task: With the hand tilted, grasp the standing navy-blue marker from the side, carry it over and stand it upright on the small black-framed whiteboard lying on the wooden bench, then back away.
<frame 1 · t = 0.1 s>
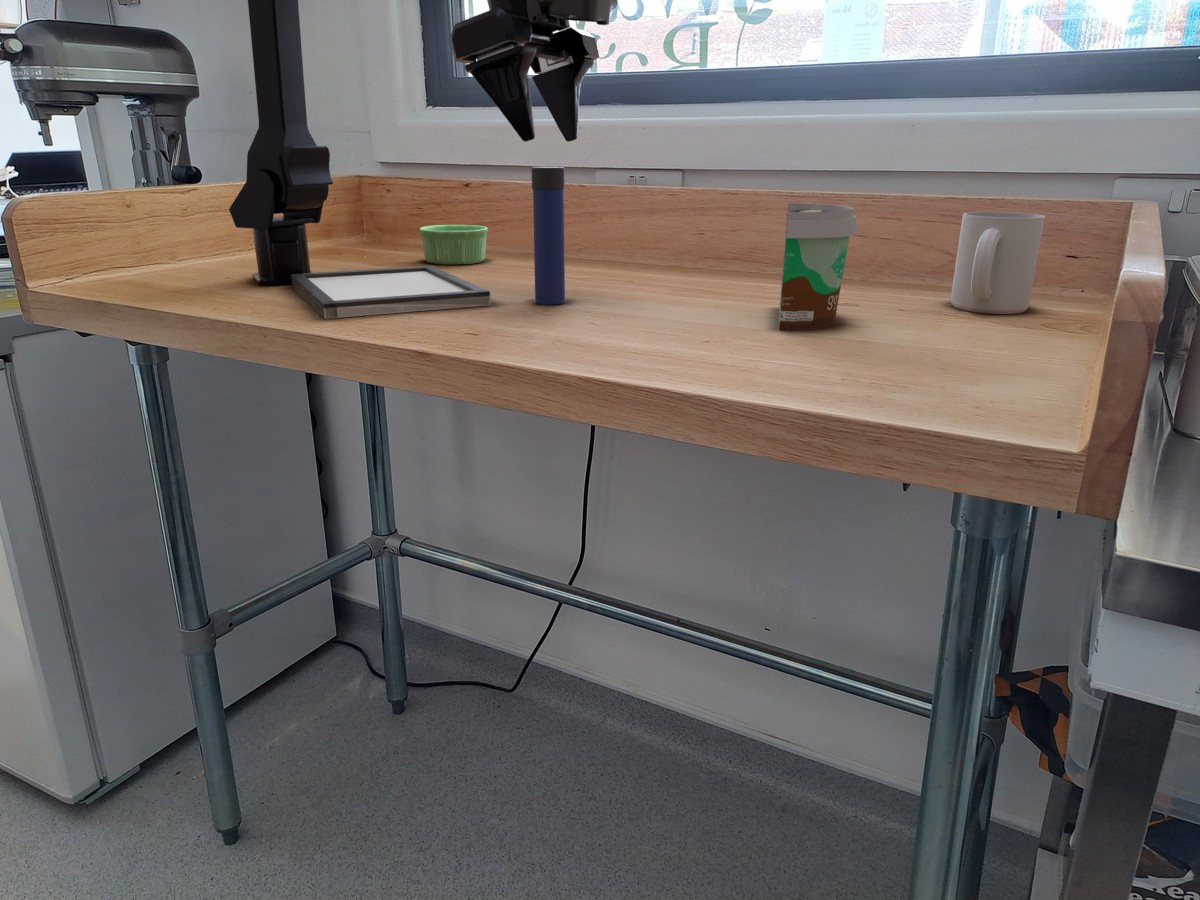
hand: (551, 140, 81), 15 cm above the table, tool pointing down, fingers open, 9 cm apart
marker: (550, 302, 87), on the table
whiteboard: (385, 295, 90), on the table
cup: (984, 311, 84), on the table
ramekin: (455, 262, 115), on the table
food container: (813, 322, 78), on the table
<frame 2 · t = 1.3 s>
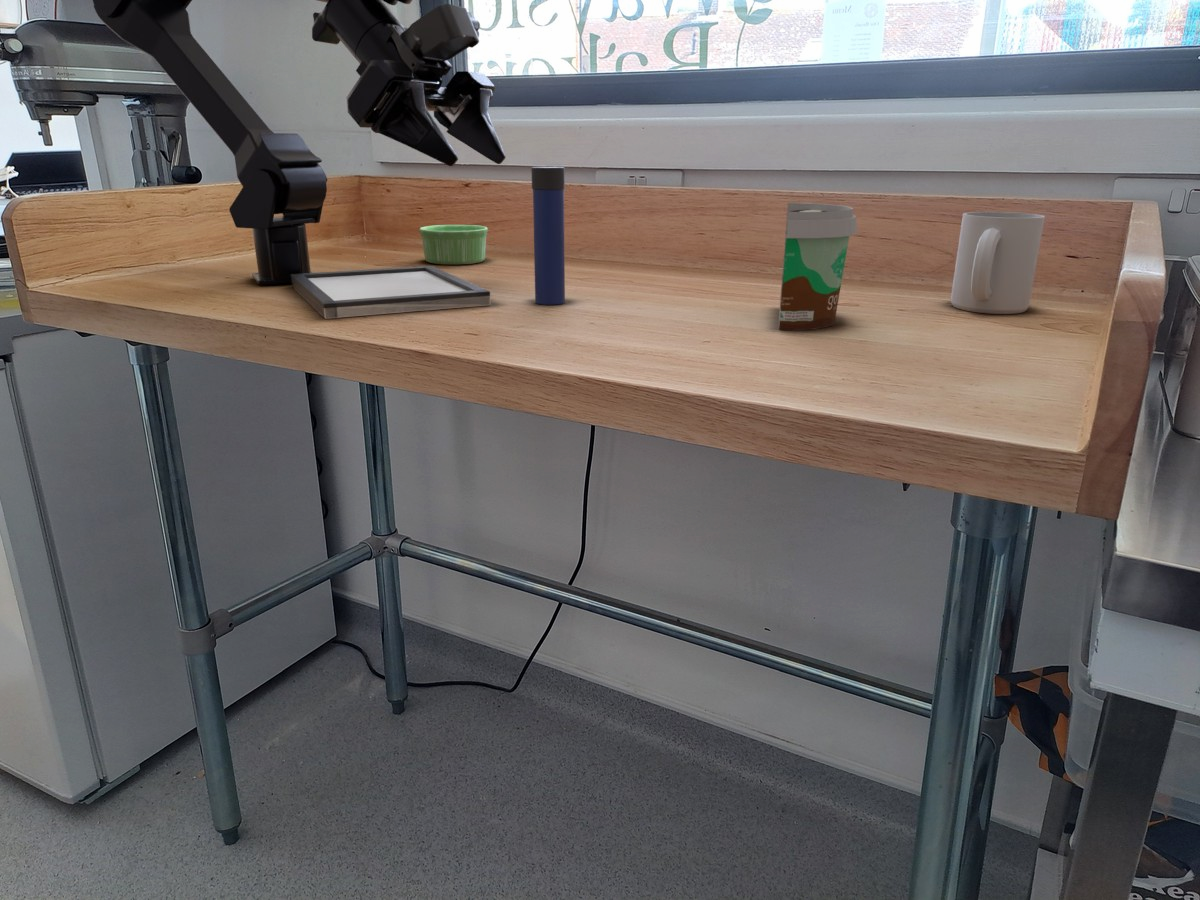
hand: (479, 161, 85), 13 cm above the table, tool tilted 45°, fingers open, 9 cm apart
nothing on the table moved.
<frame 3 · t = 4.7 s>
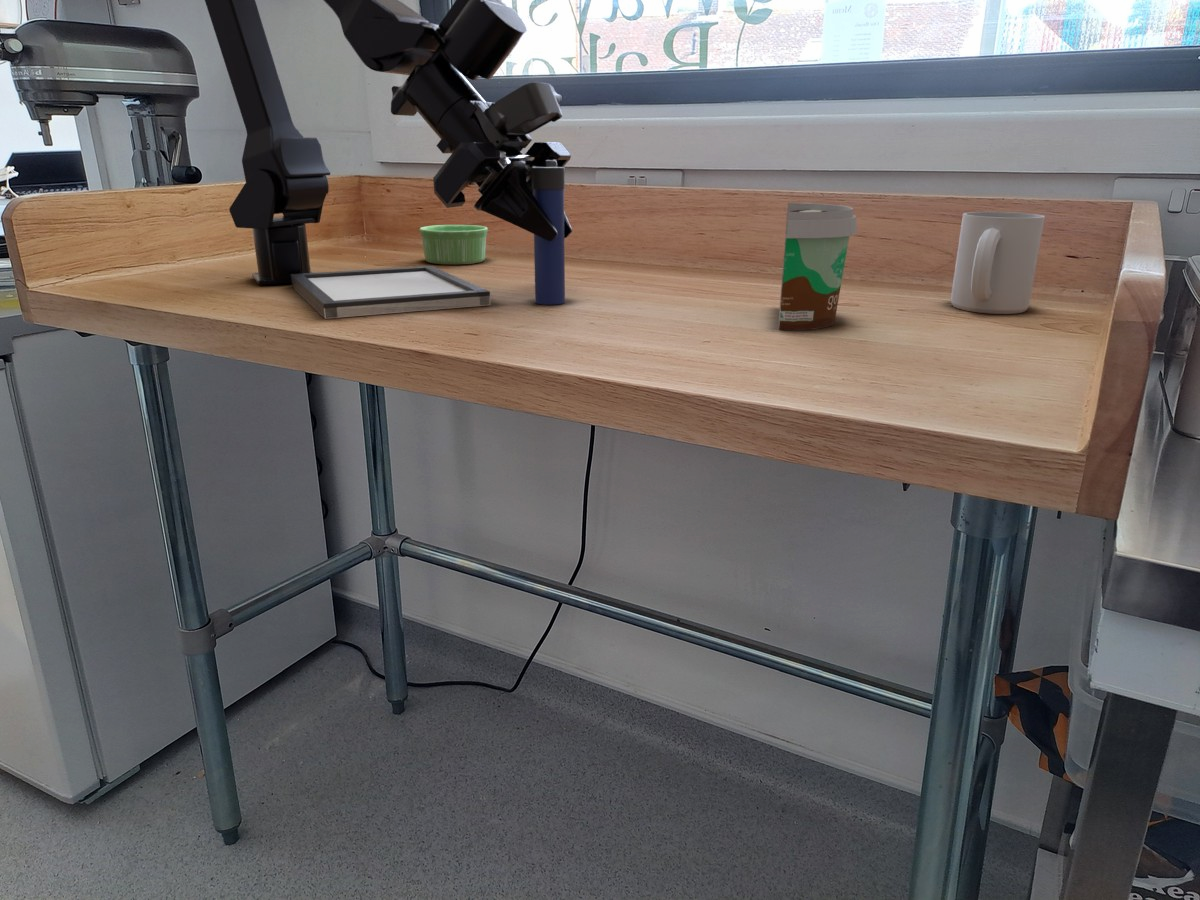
hand: (561, 236, 84), 7 cm above the table, tool tilted 45°, fingers closed on marker, 3 cm apart
marker: (550, 302, 87), on the table, touching gripper
everything else where it was.
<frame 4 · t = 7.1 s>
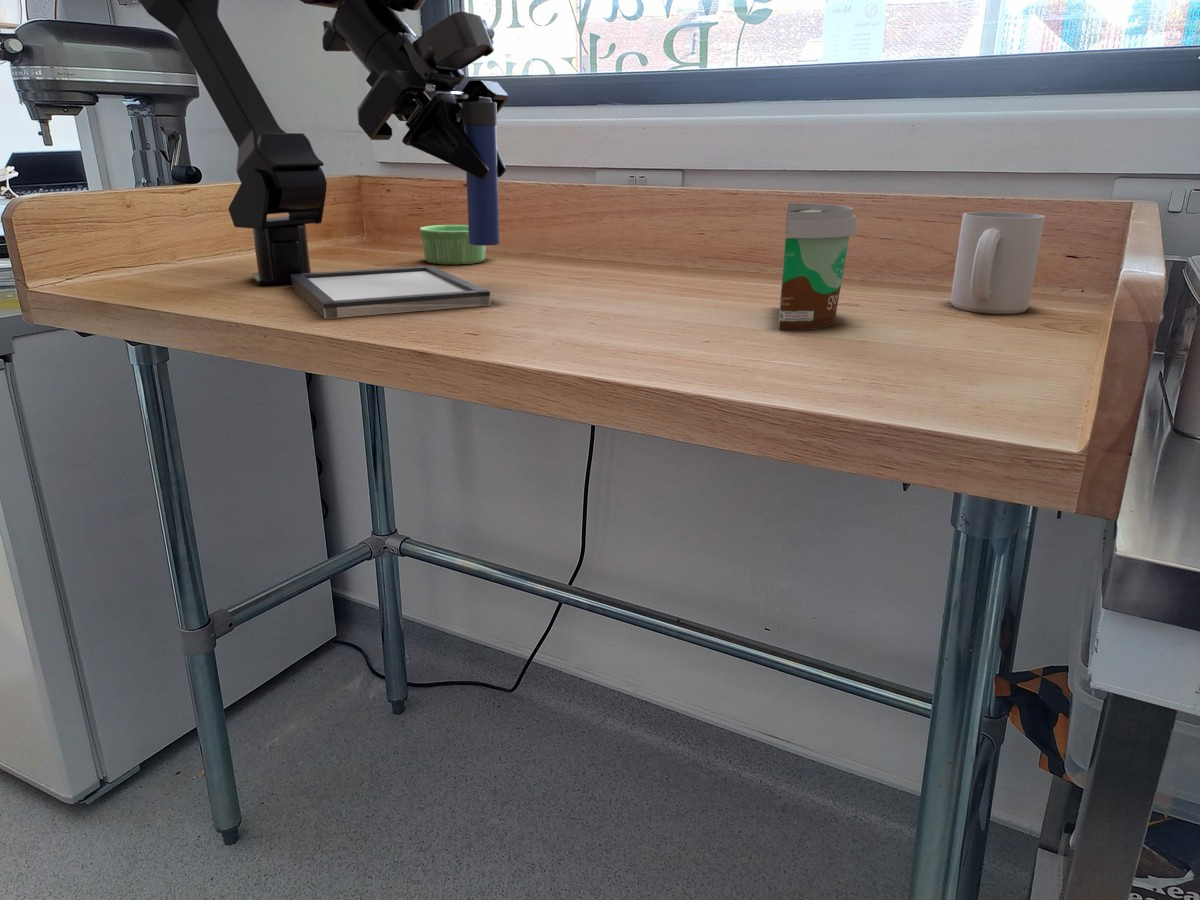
hand: (494, 174, 82), 12 cm above the table, tool tilted 45°, fingers closed on marker, 3 cm apart
marker: (484, 243, 85), point 6 cm above the table, touching gripper
everything else where it was.
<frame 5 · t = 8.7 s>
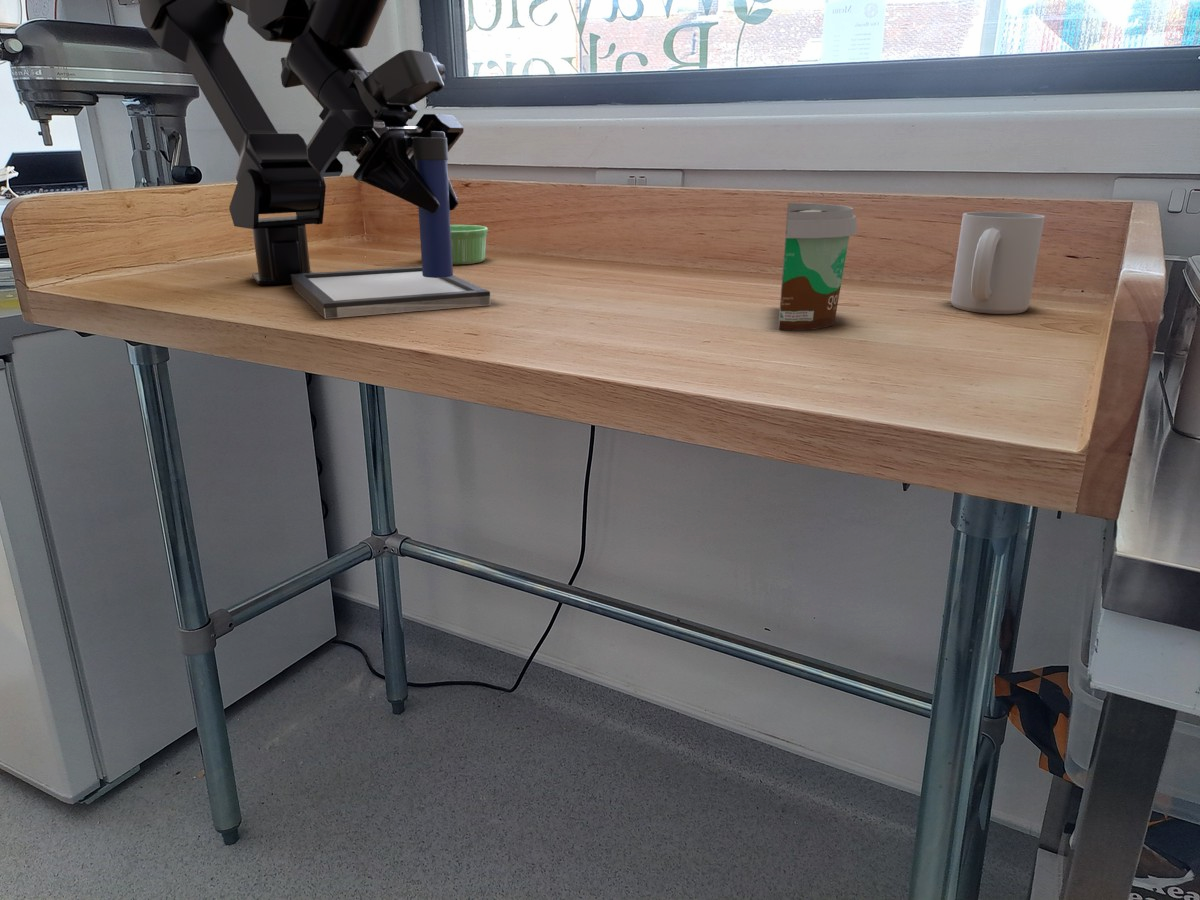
hand: (445, 208, 83), 9 cm above the table, tool tilted 45°, fingers closed on marker, 3 cm apart
marker: (437, 275, 86), point 3 cm above the table, touching gripper
everything else where it was.
when the fingers open (8 cm above the table, at t = 9.5 s): marker stays where it is, resting on whiteboard.
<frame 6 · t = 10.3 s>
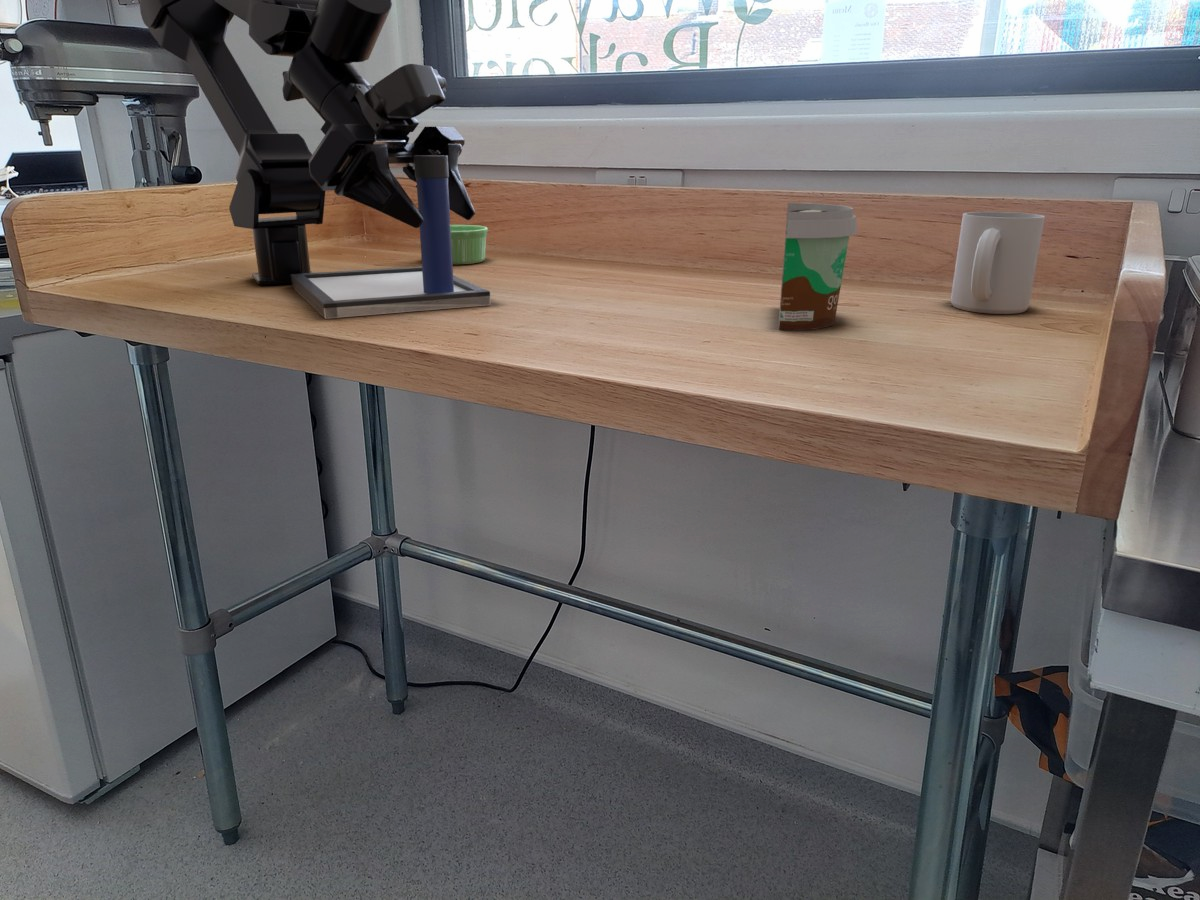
hand: (447, 220, 83), 8 cm above the table, tool tilted 45°, fingers open, 9 cm apart
marker: (438, 291, 86), point 1 cm above the table, touching whiteboard
everything else where it was.
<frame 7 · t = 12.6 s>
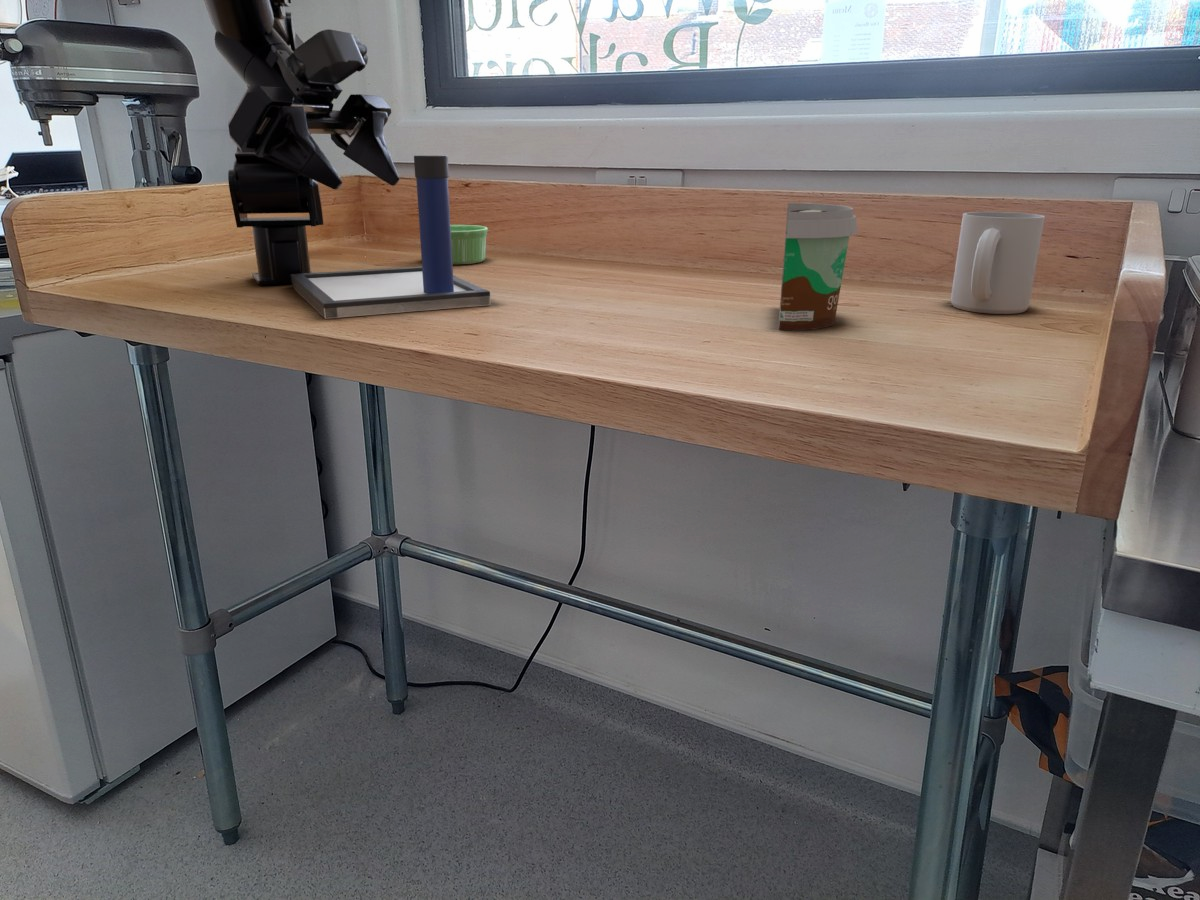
hand: (369, 184, 85), 11 cm above the table, tool tilted 45°, fingers open, 9 cm apart
nothing on the table moved.
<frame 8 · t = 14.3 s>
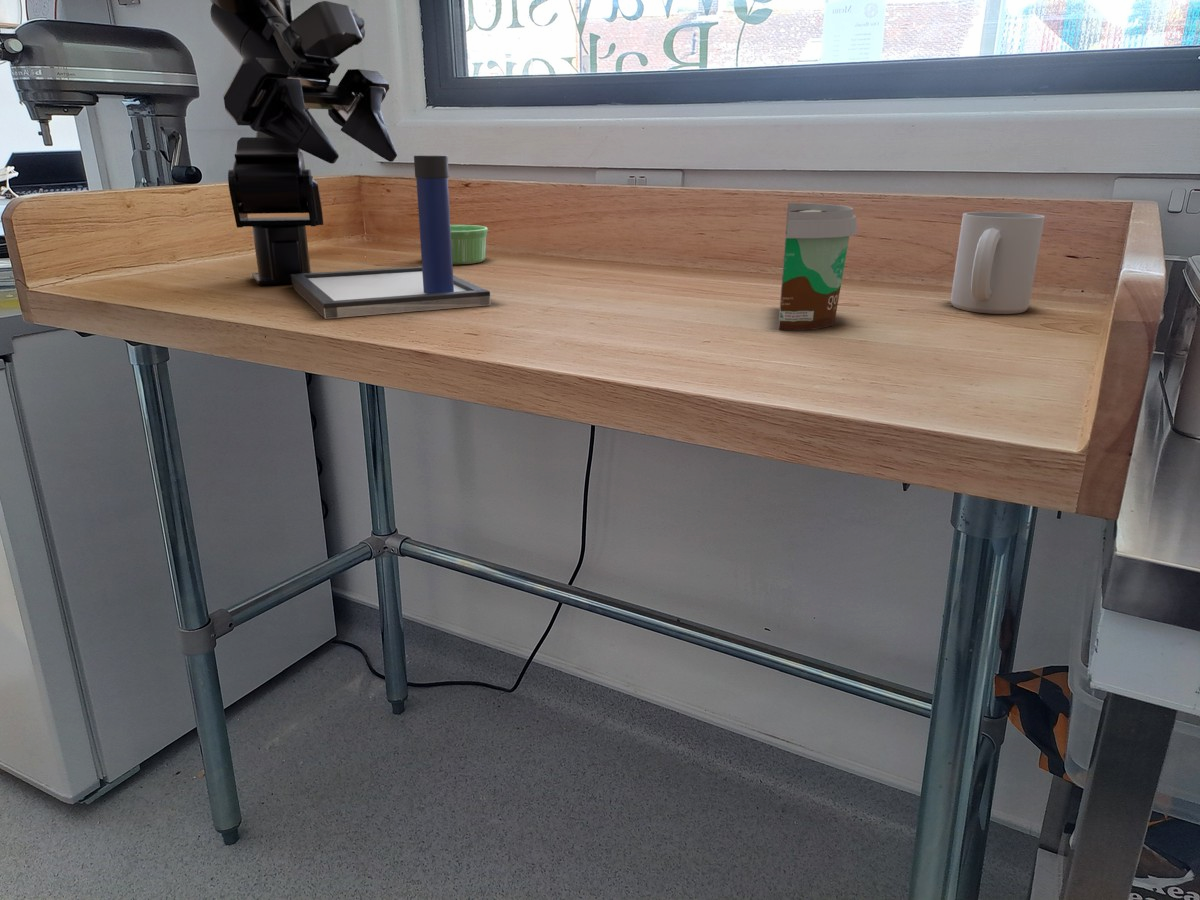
hand: (366, 159, 85), 14 cm above the table, tool tilted 45°, fingers open, 9 cm apart
nothing on the table moved.
at the end: marker inside the target area on the whiteboard (7.1 cm from its centre), point 1.0 cm above the whiteboard's base; marker tilted 0°; the gripper is holding nothing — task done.
